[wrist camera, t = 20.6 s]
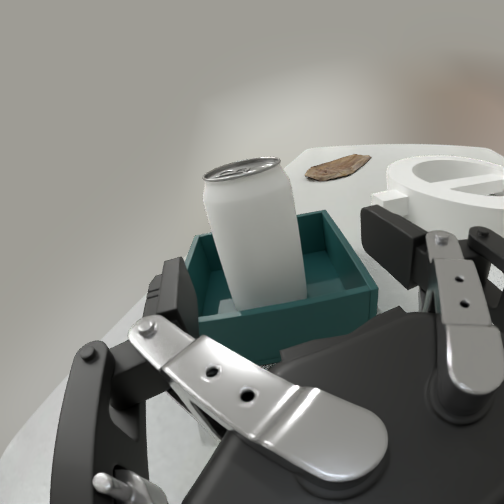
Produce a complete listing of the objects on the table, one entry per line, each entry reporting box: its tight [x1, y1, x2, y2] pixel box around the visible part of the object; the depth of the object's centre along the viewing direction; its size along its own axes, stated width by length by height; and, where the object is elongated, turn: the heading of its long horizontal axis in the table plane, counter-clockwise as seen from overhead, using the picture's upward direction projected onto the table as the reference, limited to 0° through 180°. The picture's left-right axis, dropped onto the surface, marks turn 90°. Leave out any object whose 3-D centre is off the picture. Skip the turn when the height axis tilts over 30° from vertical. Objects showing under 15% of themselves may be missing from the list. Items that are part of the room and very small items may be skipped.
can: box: [203, 157, 307, 311], centre depth 22 cm, size 6×6×12 cm
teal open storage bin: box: [185, 210, 379, 366], centre depth 24 cm, size 14×14×5 cm
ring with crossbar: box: [371, 155, 504, 240], centre depth 33 cm, size 28×28×5 cm
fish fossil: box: [305, 154, 371, 181], centre depth 63 cm, size 26×10×1 cm, turn 141°
